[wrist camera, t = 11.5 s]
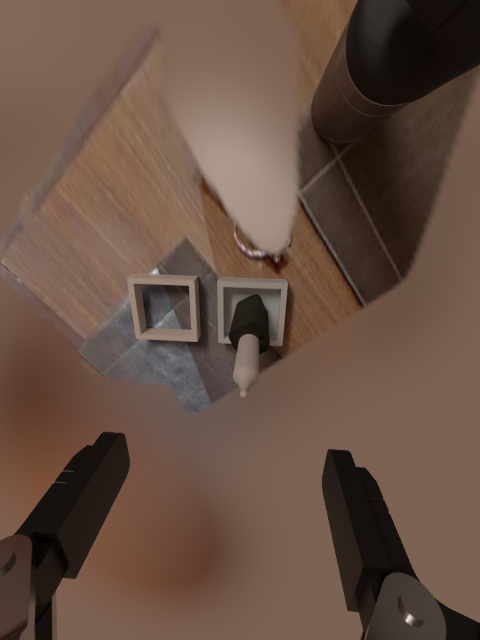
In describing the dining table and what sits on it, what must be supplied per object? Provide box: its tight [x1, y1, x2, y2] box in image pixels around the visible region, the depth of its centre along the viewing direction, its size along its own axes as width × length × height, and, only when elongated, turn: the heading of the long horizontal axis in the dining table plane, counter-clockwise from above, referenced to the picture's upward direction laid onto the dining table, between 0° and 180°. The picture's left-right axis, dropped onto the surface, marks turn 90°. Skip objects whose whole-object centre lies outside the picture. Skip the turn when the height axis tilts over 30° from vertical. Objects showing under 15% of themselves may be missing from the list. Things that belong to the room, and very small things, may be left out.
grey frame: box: [127, 274, 201, 342], centre depth 51 cm, size 12×12×3 cm
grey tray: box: [217, 277, 288, 346], centre depth 50 cm, size 12×12×3 cm
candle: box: [228, 294, 270, 398], centre depth 39 cm, size 5×5×25 cm
